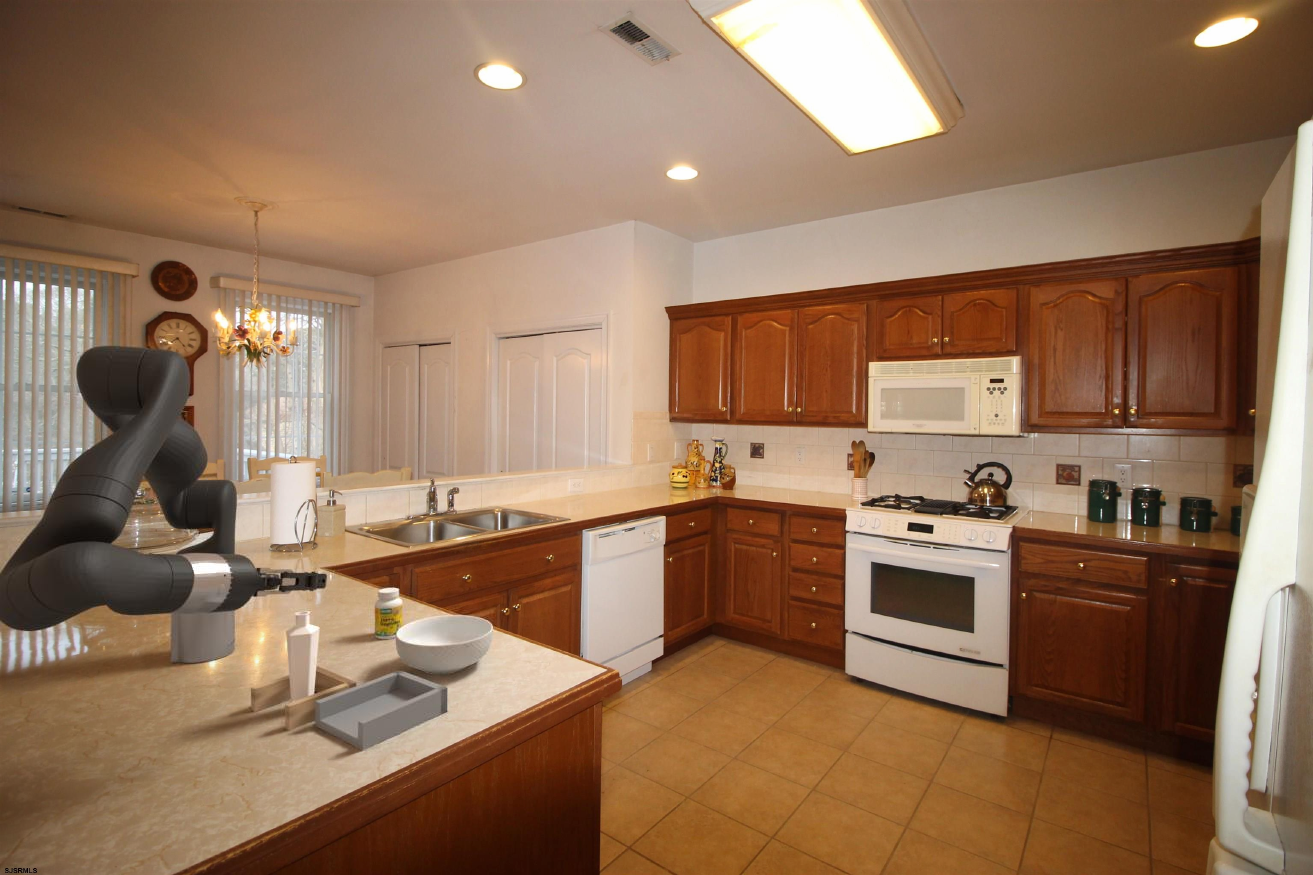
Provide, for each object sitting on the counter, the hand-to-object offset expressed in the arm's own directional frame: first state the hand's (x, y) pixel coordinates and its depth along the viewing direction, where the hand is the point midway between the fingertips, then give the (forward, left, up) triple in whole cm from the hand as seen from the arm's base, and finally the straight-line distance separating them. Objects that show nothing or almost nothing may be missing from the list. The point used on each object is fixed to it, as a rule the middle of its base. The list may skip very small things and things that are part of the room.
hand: (300, 581), depth 95 cm
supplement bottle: (+12, +33, -21) cm, 40 cm away
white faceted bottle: (0, +2, -21) cm, 21 cm away
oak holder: (0, +2, -20) cm, 20 cm away
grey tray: (+12, -6, -20) cm, 24 cm away
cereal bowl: (+22, +12, -21) cm, 32 cm away
